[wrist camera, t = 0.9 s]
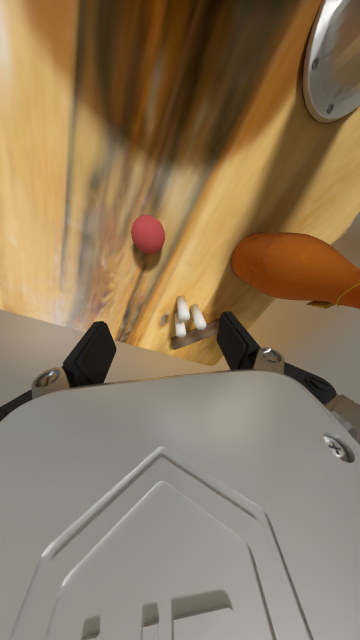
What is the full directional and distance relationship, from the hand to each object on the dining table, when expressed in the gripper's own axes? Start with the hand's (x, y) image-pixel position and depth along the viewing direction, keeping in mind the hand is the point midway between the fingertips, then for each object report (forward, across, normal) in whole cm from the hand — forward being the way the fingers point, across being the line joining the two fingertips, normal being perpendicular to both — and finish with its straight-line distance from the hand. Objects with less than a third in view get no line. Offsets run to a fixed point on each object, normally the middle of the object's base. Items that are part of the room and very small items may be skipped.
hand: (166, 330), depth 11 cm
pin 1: (+24, -3, +13) cm, 27 cm away
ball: (+21, +2, -6) cm, 22 cm away
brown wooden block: (+24, -8, +20) cm, 32 cm away
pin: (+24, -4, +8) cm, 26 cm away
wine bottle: (+24, -20, -1) cm, 31 cm away
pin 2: (+24, -7, +11) cm, 27 cm away
